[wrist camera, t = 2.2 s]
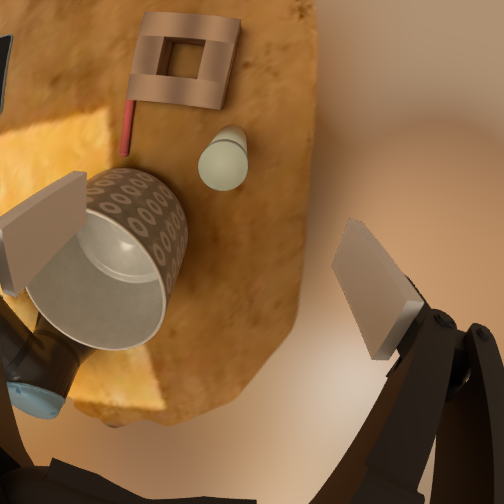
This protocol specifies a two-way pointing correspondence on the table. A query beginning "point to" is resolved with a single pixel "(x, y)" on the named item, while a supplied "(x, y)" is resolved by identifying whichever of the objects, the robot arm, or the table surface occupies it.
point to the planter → (116, 263)
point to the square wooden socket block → (159, 50)
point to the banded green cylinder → (225, 159)
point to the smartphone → (4, 64)
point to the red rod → (126, 127)
